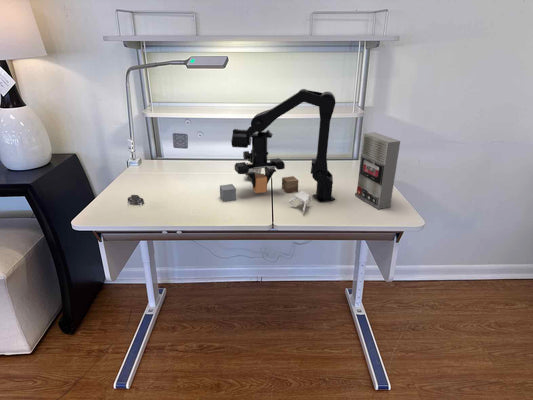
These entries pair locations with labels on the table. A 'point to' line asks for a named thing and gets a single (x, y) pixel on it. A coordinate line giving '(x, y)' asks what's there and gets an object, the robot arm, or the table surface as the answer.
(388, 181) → the cassette tape recorder
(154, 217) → the table surface
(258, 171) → the grey spiky ball
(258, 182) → the rust orange block
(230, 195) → the charcoal grey block
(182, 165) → the table surface
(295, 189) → the walnut block
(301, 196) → the origami figure
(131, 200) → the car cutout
